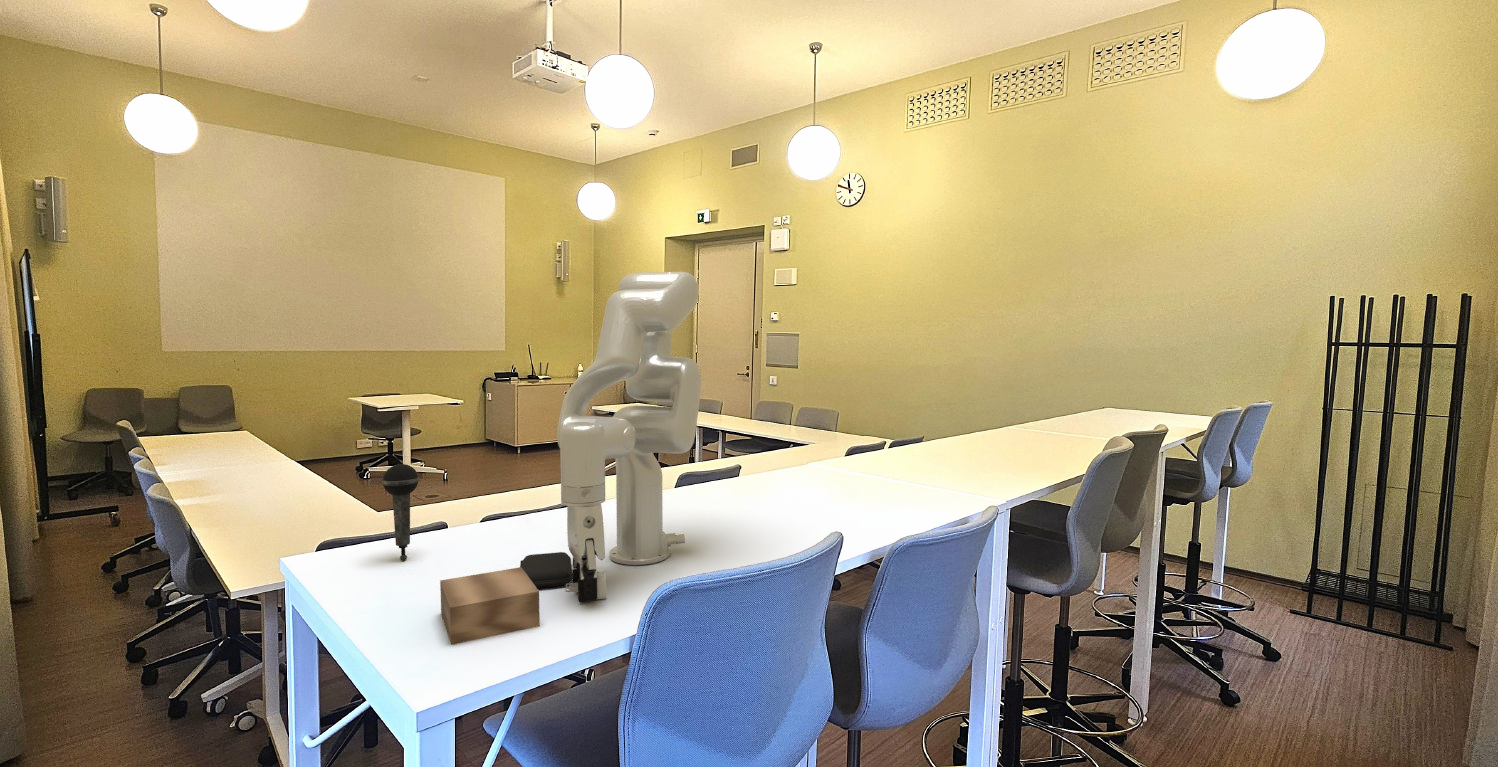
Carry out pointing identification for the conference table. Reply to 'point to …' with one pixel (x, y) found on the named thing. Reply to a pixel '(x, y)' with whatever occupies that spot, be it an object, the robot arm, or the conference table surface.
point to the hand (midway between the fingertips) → (584, 594)
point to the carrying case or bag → (548, 569)
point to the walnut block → (488, 604)
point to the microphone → (401, 500)
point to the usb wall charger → (600, 585)
